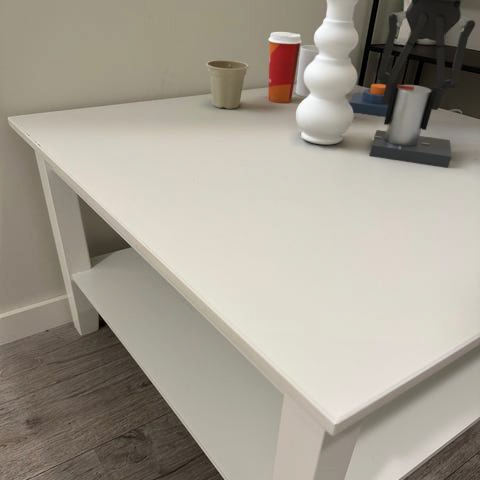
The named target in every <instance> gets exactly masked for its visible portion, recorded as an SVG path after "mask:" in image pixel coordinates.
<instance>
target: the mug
mask: <svg viewBox="0 0 480 480" xmlns="http://www.w3.org/2000/svg"><path fill="white" fill-rule="evenodd" d="M318 54H319V49H318V48H317V46H316V45H315V44H314V45H313V44H309V45H308V44H306V45H300V48H299V56H298V65H297V67H298V68H297V76H296V84H295V94H296V95H298V96H300V97H302V98H303V97H304V98H307V97H308V95H309V94H311V92H310V90H309V89H308V88H307V86H306V85H305V82H304V72H305V69H306V68H307V66H308V65H309V64H310V63H311V62H312V61H313V60H314V59H315V57H316V55H318Z"/></svg>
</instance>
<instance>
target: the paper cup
mask: <svg viewBox="0 0 480 480" xmlns="http://www.w3.org/2000/svg"><path fill="white" fill-rule="evenodd" d="M301 37H302V36H301V34H300V33H294V32H288V31H273V32H270V37H269V38H267V39H268V41H269V48H268V49H269V53H268V92H267V93H268V101H269V102H272V103H275V104H276V103H277V104H288V103H290V102H292V97H293V93H294V86H295V79H296V73H297V69H298V68H297V67H298V62H299V56H300V48H301V43H303V42H302V39H301Z"/></svg>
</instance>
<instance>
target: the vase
mask: <svg viewBox="0 0 480 480" xmlns="http://www.w3.org/2000/svg"><path fill="white" fill-rule="evenodd" d="M359 1H360V0H326V1H325V2H326V5H327V6H326V15H325V18H324V19H323V21H322V24H321V25H320V26H319V27H318V28H317V29H316V31H315V32H314V35H313V42H314V45H316V46H317V48H318V49H319V54H318V55H316V57H315V59H314V60H313V61H312V62H311V63H310V64H309V65H308V66H307V68H306V69H305V72H304V82H305V85H306V86H307V88H308V89H309V90H310V92H311V94H309V95H308V97H304V99H303V100H302V101H300V103H299V104H298V106H297V109H296V112H295V120H296V123H297V125H298V127H299V128H300V129H301V132H300V137H301V138H302V139H303V140H305V141H306V142H309V143H312V144H317V145H326V146H327V145H335V144H339V143H340V142H342V140H343V134H344V133H346V132H347V131H348V130H349V129H350V128H351V126H352V124H353V122H354V114H355V113H353V109H352V107H351V105H350V104H349V101H348V99H347V97H346V95H347V94H349V93H350V92H351V91H352V90H353V89H354V88H355V87H356V85H357V82H358V72H357V68H355V66H354V65H353V63H352V59H351V57H350V56H349V55H350V53H352V51H353V50H354V49H356V48H357V45H358V43H359V40H360V39H359V38H360V37H359V34H358V31H357V29H356V28H355V21H354V19H353V18H354V11H355V8H356V5H357V3H358V2H359Z"/></svg>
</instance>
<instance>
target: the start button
mask: <svg viewBox="0 0 480 480" xmlns="http://www.w3.org/2000/svg"><path fill="white" fill-rule="evenodd" d="M385 87H386V84H384V83H383V84H382V83H372V84H371V86H370V89H371V90H370V93H373V94H379V95H384V92H385Z"/></svg>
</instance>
